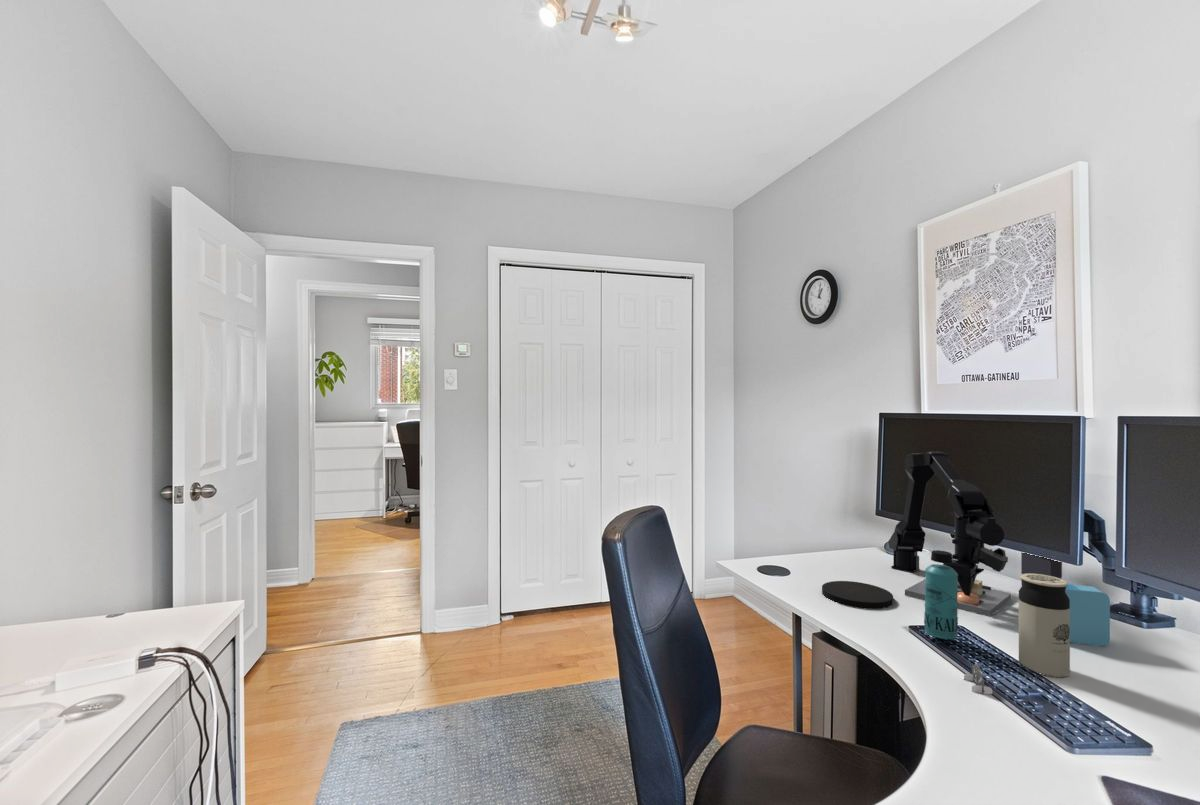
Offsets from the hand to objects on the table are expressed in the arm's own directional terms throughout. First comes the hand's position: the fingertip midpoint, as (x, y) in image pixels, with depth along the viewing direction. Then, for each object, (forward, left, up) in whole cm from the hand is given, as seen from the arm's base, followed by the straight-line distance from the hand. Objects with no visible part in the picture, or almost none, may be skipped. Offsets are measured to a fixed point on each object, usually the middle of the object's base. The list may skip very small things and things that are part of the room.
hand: (967, 595), depth 144 cm
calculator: (+10, +30, -3) cm, 32 cm away
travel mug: (+21, -29, -3) cm, 36 cm away
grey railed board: (-4, +6, -3) cm, 8 cm away
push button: (0, 0, -3) cm, 3 cm away
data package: (+22, -6, -3) cm, 23 cm away
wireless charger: (-22, -16, -3) cm, 27 cm away
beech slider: (-1, +7, -1) cm, 7 cm away
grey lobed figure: (+17, -51, -4) cm, 54 cm away
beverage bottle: (+3, -30, -3) cm, 30 cm away
